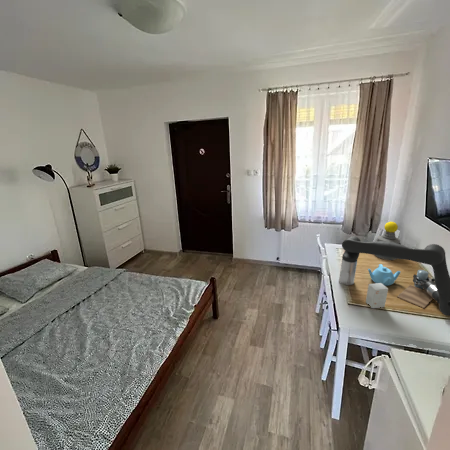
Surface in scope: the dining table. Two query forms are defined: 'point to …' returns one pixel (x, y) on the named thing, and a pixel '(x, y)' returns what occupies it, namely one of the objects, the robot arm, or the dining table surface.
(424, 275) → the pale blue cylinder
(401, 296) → the placemat
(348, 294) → the dining table surface
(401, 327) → the dining table surface
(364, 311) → the dining table surface
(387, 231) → the toy tesla coil
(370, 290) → the small box
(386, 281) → the teapot
